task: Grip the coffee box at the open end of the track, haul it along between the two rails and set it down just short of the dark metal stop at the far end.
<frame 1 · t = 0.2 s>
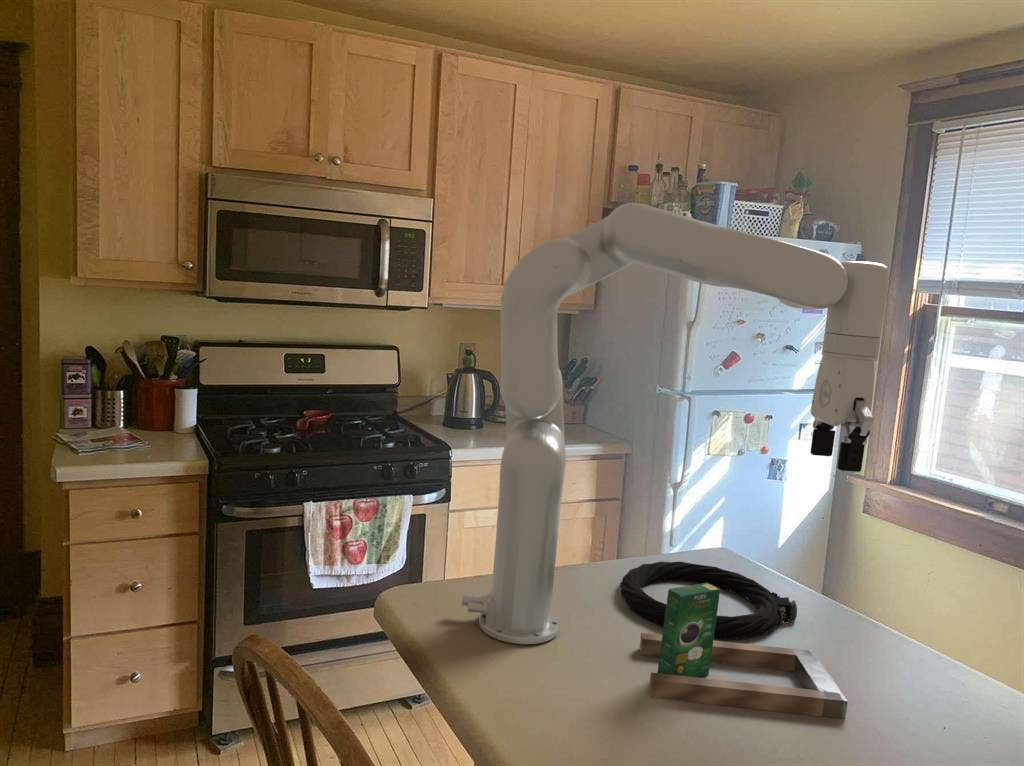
hand: (834, 462, 113), 31 cm above the table, tool pointing down, fingers open, 9 cm apart
cable lock: (704, 609, 134), on the table
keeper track: (733, 681, 108), on the table
coffee box: (683, 677, 108), on the table
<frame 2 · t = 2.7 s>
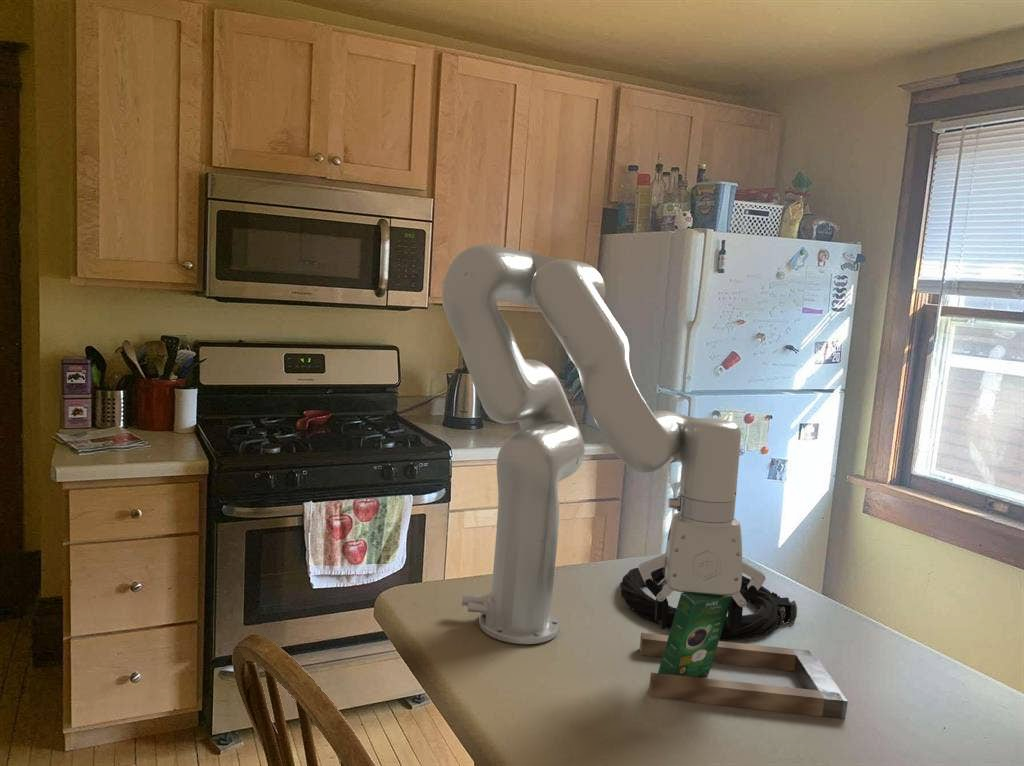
hand: (697, 627, 107), 7 cm above the table, tool pointing down, fingers open, 9 cm apart
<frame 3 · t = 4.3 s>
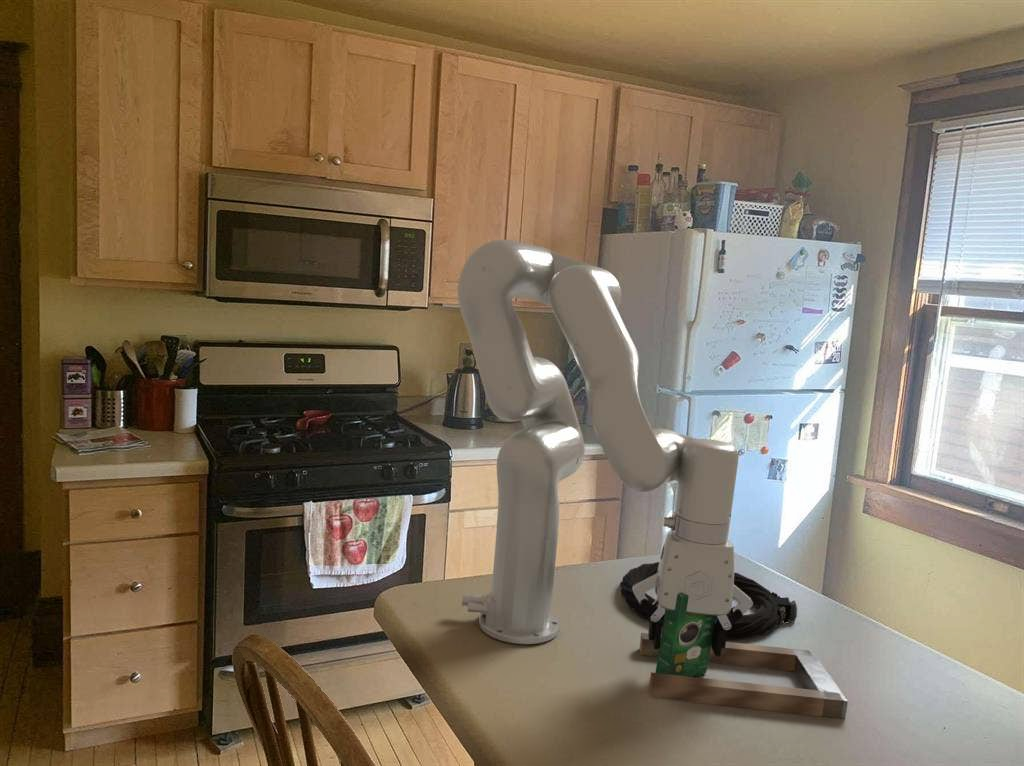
hand: (685, 647, 108), 4 cm above the table, tool pointing down, fingers closed on coffee box, 8 cm apart
coffee box: (681, 675, 108), on the table, touching gripper
everything else where it was.
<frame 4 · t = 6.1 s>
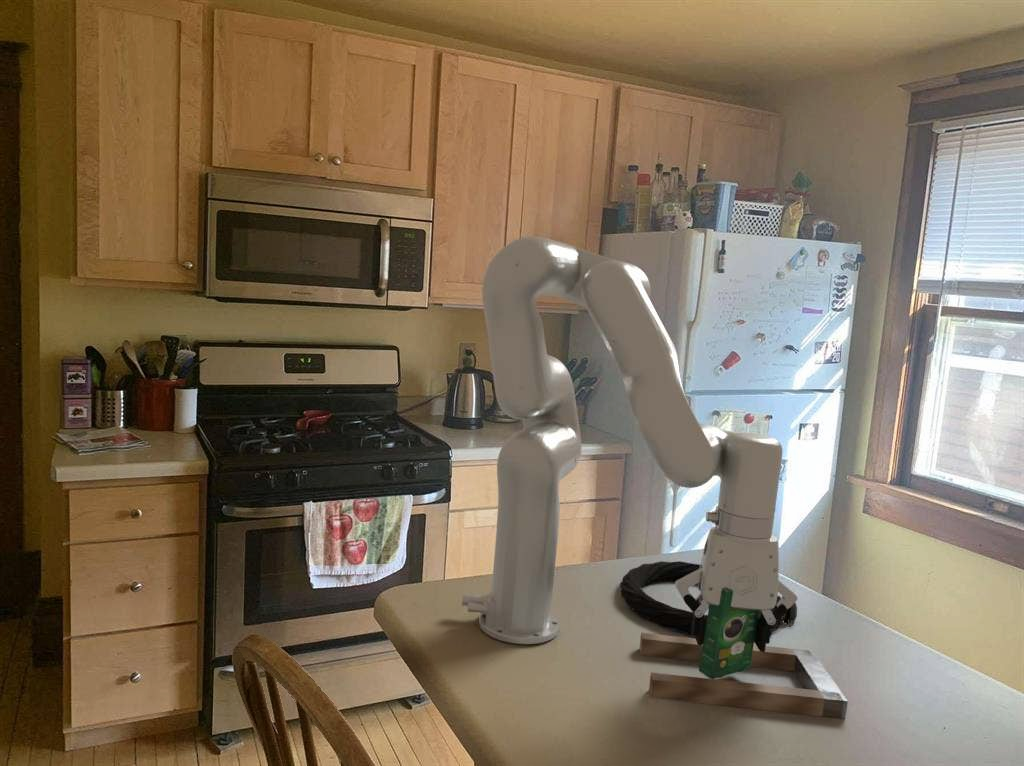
hand: (729, 643, 107), 5 cm above the table, tool pointing down, fingers closed on coffee box, 8 cm apart
coffee box: (724, 671, 108), point 1 cm above the table, touching gripper
everything else where it was.
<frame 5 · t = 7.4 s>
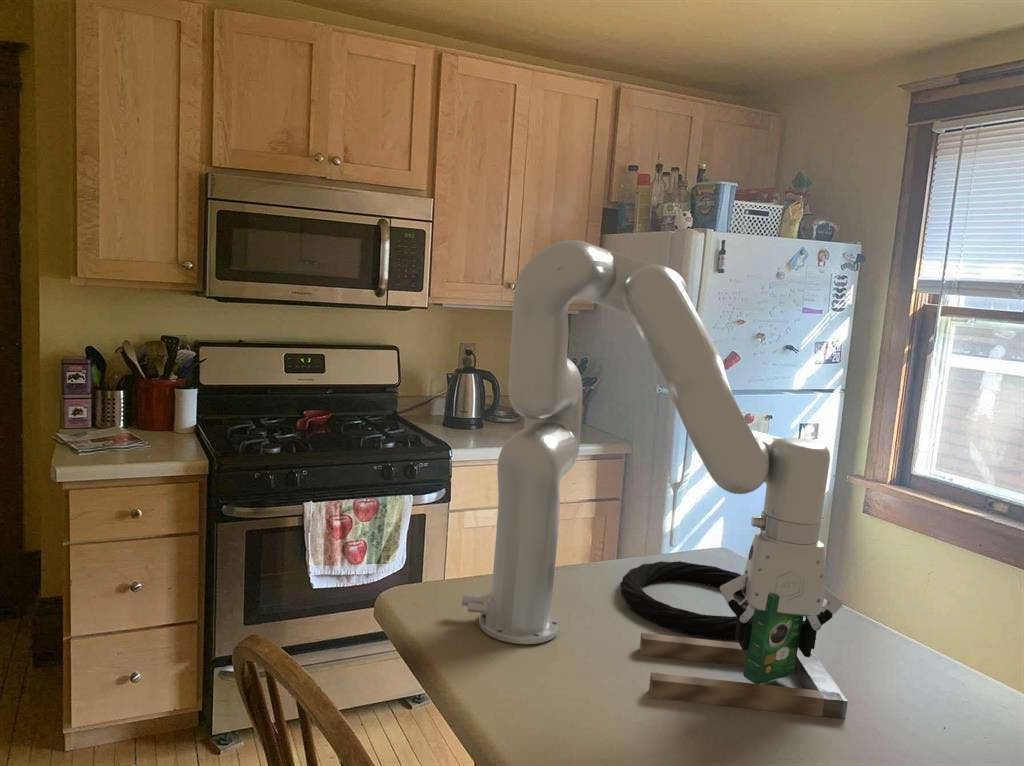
hand: (773, 648, 107), 5 cm above the table, tool pointing down, fingers closed on coffee box, 8 cm apart
coffee box: (768, 677, 107), point 1 cm above the table, touching gripper
everything else where it was.
when the fingers open (4 cm above the table, at t = 8.6 s): coffee box stays where it is, on the table.
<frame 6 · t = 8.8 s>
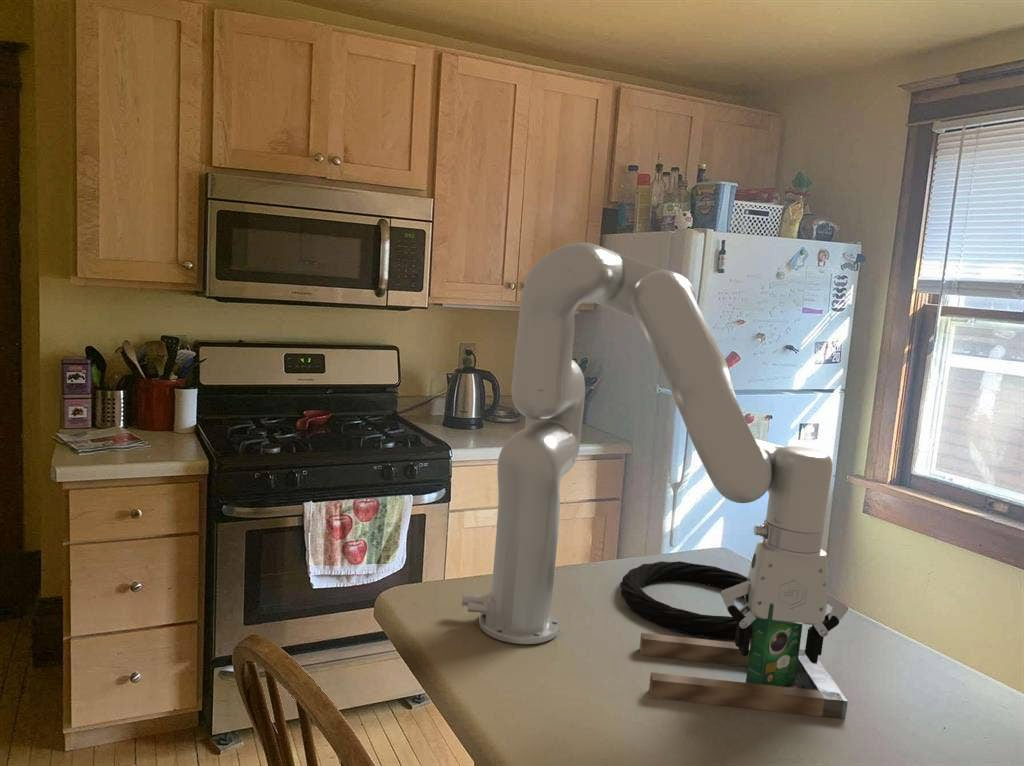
hand: (776, 655, 107), 5 cm above the table, tool pointing down, fingers open, 9 cm apart
coffee box: (770, 686, 108), on the table
everything else where it was.
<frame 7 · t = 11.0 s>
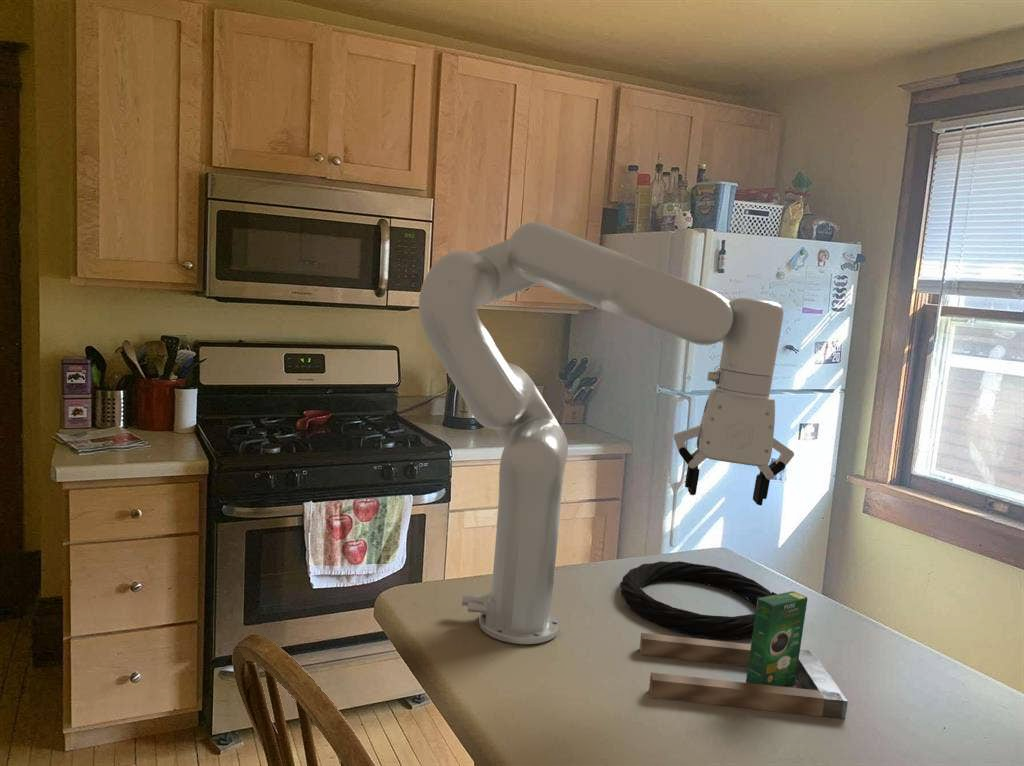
hand: (724, 497, 113), 24 cm above the table, tool pointing down, fingers open, 9 cm apart
nothing on the table moved.
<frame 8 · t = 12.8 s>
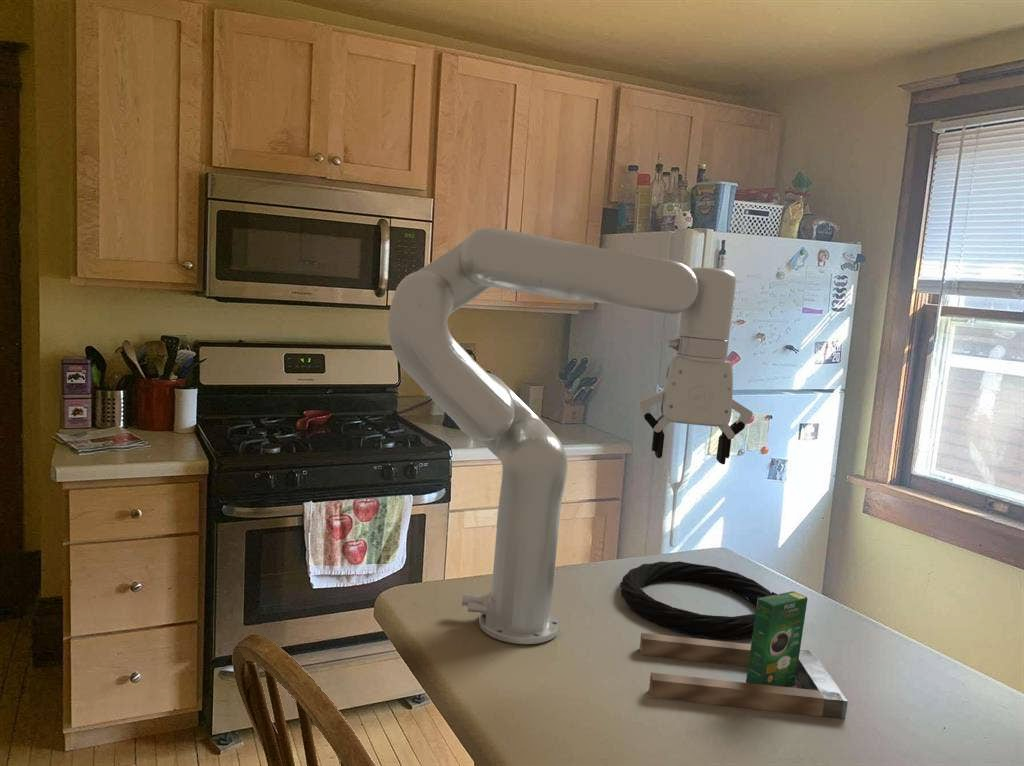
hand: (689, 459, 118), 28 cm above the table, tool pointing down, fingers open, 9 cm apart
nothing on the table moved.
at the end: coffee box 0.1 cm from the target spot, on the table; coffee box tilted 0°; the gripper is holding nothing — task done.
